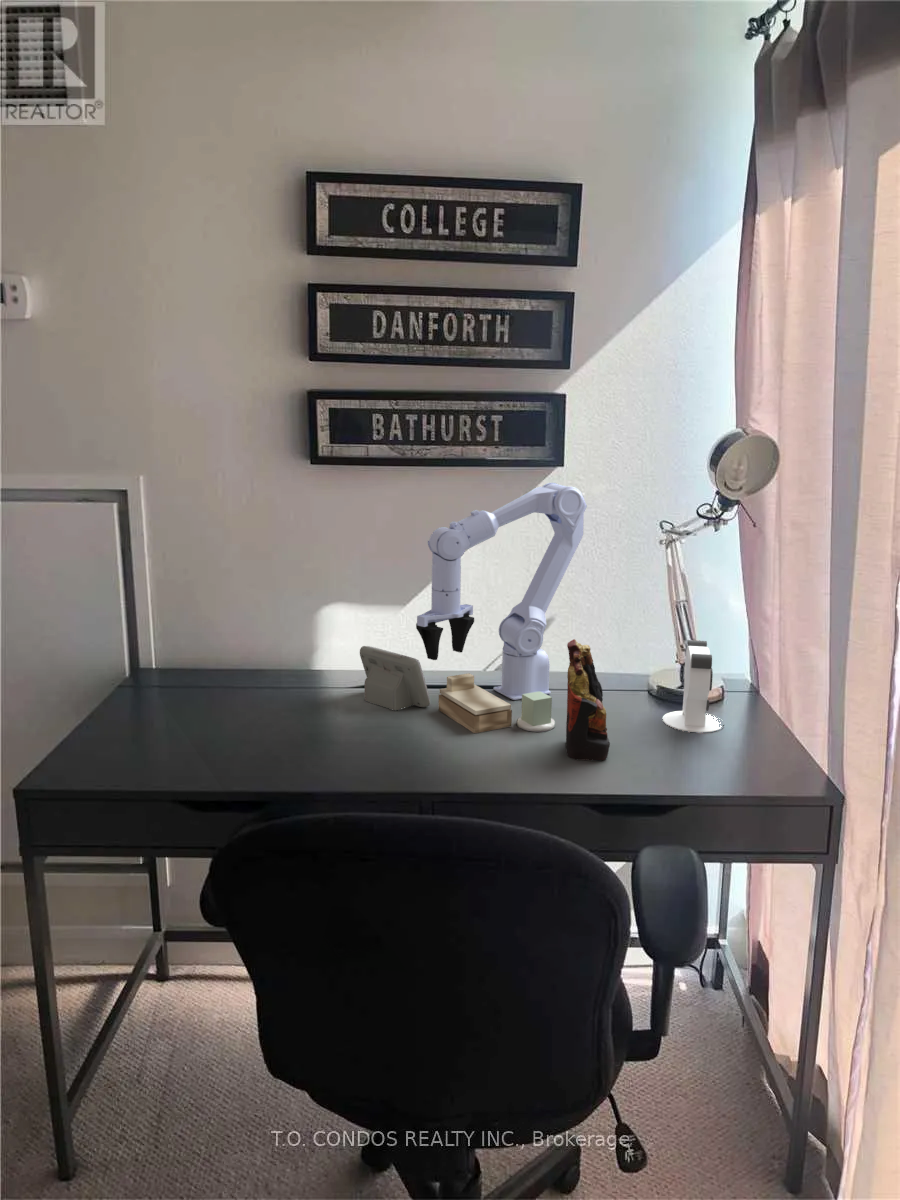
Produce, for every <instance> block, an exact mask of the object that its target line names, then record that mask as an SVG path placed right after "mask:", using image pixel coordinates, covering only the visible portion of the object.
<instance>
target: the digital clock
mask: <svg viewBox="0 0 900 1200" xmlns="http://www.w3.org/2000/svg"><path fill="white" fill-rule="evenodd" d="M359 657H360V660H361V664H362V665H363V666H362V667H363V669H364V672H365V676H366V678H365V679H364V701H365V702H367V701H368V702H367V703H370V702H371V704H373V703H374V704H373V705H376V704H377V705H376V706H379V705H380V707H382V706H383V707H382V708H385V707H386V708H385V709H388V708H389V709H388V710H391V709H393V710H392V711H394V710H398V711H400V710H399V709H401V708H404V707H407V708H409V707H408V706H410V707H412V706H415V707H420V708H427V707H429V706H430V704H431V698H430V693H429V691H428V686H427V683H426V679H425V675H424V672H423V668H422V665H421V662H420V660H419V659H417V658H415V657H412V656H407V655H403V654H400V653H398V652H397V653H396V652H392V651H389V650H385V649H382V648H378V647H374V646H370V645H363V646H361V647H360V649H359ZM411 705H412V706H411ZM404 709H405V708H404ZM401 710H402V709H401Z"/></svg>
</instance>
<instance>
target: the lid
mask: <svg viewBox="0 0 900 1200" xmlns="http://www.w3.org/2000/svg"><path fill="white" fill-rule="evenodd" d="M440 694H442V695H444V696H445V697H447V698H448V699H450V700H452V701H453V702H455V703H457V704H458V705H460V706H462V707H463V708H465V709H466V710H468V711H470V712H471V713H473V714H475V715H479V714H485V713H491V712H496V711H502V710H507V709H511V710H512V704H510V703H509V702H508V701H505V700H503V699H502V698H500V697H498V696H496V695H495V694H493V693H491V692H489V691H488V690H485V689H484V688H482V687H480V686H478V685H476V684H475V675H474V674H471V673H462V674H456V675H449V676H448V675H447V676H446V687H445V688H440V689H439V695H440Z"/></svg>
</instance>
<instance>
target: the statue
mask: <svg viewBox="0 0 900 1200" xmlns="http://www.w3.org/2000/svg"><path fill="white" fill-rule="evenodd" d="M566 646H567V650H568V651H567V652H568V659H569V665H568V668H567V676H566V677H567V685H566V686H567V694H566V695H567V699H566V722H565V723H566V725H565V726H566V727H565V729H566V730H565V732H566V733H565V752H566V755H567V756H568V757H569V758H570V759H572V760H577V759H578V760H577V761H591V760H602V761H606V759H608V756H609V751H610V746H611V745H610V744H611V743H610V739H609V737H608V736H609V735H608V732H607V731H608V728H607V709H606V708H605V706H604V703H603V699H604V698H603V696H604V693H603V687H602V684H601V681H599V679H598V677H597V673H596V667H595V665H594V658H593V656H592V652H591V647H590V645H588V644H582V643H580V642H579V643H578V641H577V640H576V639H575V638H574V639H572V640H570V641H568V642H567V644H566Z"/></svg>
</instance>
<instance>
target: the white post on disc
mask: <svg viewBox="0 0 900 1200" xmlns="http://www.w3.org/2000/svg"><path fill="white" fill-rule="evenodd" d="M685 651H686V652H685V659H684V673H683V674H684V676H683V677H684V678H683V684H684V685H683V698H682V699H683V700H682V709H681V710H675V711H670V712H667V713H665V714H664V715H663V716H662V719H663V720H662V723H663V722H664V723H665V724H666V725H665V724H664V723H663V724H664V725H665V726H667V725H668V726H667V727H669V726H670V727H669V728H671V727H672V728H671V729H673V728H674V730H676V729H678V730H677V731H679V730H682V731H681V732H684V731H688V732H687V733H690V732H698V733H697V734H704V733H703V732H712V731H716V730H719V729H721V727H722V726H721V725H720V727H719V724H721V722H720V723H719V722H718V720H717V719H718V718H719V717H718V718H716V717H717V716H716V715H713V716H714V717H713V716H711V715H712V714H709V713H707V711H709V709H710V699H709V694H710V692H711V691H712V688H713V677H714V675H713V671H714V670H713V655H712V654H711V651H710V648H709V647H708V642H707V640H696V639H695V640H694V639H688V640H687V645H686V650H685ZM706 714H707V715H706ZM708 714H709V715H708ZM715 716H716V717H715ZM713 718H714V719H713ZM716 720H717V721H716ZM719 721H720V720H719ZM699 732H700V733H699ZM701 732H702V733H701Z"/></svg>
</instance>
